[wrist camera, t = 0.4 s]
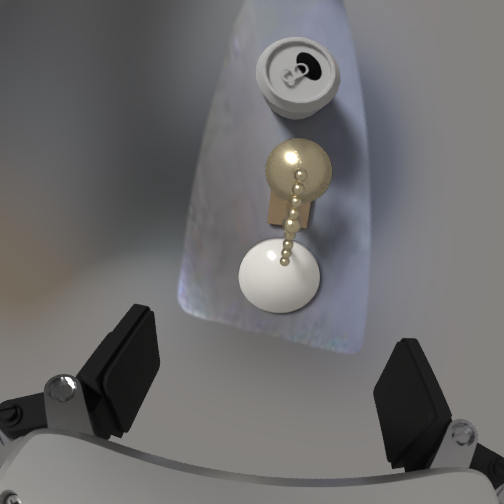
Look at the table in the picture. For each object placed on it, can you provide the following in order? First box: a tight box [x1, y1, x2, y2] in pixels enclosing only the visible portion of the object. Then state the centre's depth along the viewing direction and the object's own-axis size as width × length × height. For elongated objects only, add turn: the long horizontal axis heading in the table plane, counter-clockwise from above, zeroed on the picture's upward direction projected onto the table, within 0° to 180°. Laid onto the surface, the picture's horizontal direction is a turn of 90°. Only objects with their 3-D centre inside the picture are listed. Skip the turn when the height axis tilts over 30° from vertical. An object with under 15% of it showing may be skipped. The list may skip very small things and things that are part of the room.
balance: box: [265, 138, 332, 266], centre depth 30 cm, size 14×6×14 cm, turn 174°
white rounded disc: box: [239, 238, 320, 313], centre depth 40 cm, size 11×11×1 cm
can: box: [256, 37, 340, 119], centre depth 26 cm, size 8×8×12 cm
